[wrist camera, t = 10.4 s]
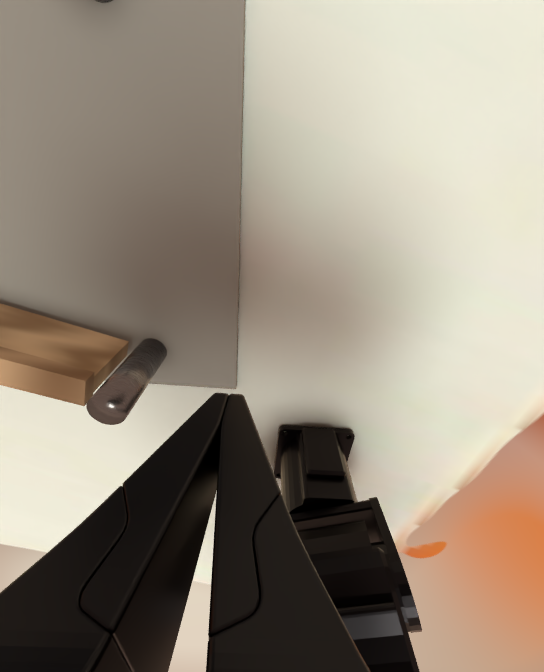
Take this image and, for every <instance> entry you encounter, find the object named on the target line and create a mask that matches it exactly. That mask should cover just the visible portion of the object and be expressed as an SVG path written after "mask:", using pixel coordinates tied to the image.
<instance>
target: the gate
mask: <svg viewBox="0 0 544 672" xmlns="http://www.w3.org/2000/svg"><path fill="white" fill-rule="evenodd" d="M128 344H129V341H126V340H122V339H119V338H116V337H112V336H109V335H105V334H102V333H99V332H95V331H92V330H89V329H85V328H82V327H78V326H75V325H72V324H68V323H65V322H62V321H58V320H55V319H51V318H48V317H45V316H41V315H38V314H34V313H31V312H28V311H24V310H21V309H18V308H14V307H11V306H7V305H4V304H1V303H0V385H3V386H7V387H11V388H15V389H19V390H23V391H27V392H31V393H35V394H39V395H42V396H46V397H50V398H54V399H58V400H62V401H66V402H70V403H74V404H78V405H82V406H85V405H86V403H87V402H88V400H89V399H90V398H91V397H92V396H93V392H94V391H95V390H96V389H97V388H98V387H99V386H100V384H101V383H102V382H103V381H104V380H105V379H106V378H107V377H108V376H109V375H110V373H111V372H112V371H113V370H114V369H115V368H116V367H117V366H118V365H119V364H120V363H121V361H122V360H123V359H124V358H125V357H126V356H127V351H128Z"/></svg>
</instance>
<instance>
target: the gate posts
mask: <svg viewBox="0 0 544 672" xmlns="http://www.w3.org/2000/svg"><path fill="white" fill-rule="evenodd" d="M95 1H97V2H100V3H109V2H111V1H113V0H95ZM166 356H167V349H166V347H165V345H164V344H163V343H162V342H160V341H159V340H157V339H153V338H148V339H144V340H143V341H142V342H141V343H140V344H139V345H138V346H137V347H136V348H135V349H134V350H133V352H132V353H131V354H130V355H129V356H128V357H127V358H126V359H125V360H124V362H123V363H122V364H121V365H120V366H119V367H118V368H117V369H116V370H115V372H114V373H113V374H112V375H111V376H110V377H109V378H108V379H107V380H106V382H105V383H104V384H103V385H102V386H101V387H100V388H99V389H98V390H97V392H96V393H95V394H94V395H93V396H92V397H91V398H90V399H89V400H88V402H87V410H88V412H89V414H90V415H91V416H92V417H93V418H94V419H95V420H97V421H99V422H101V423H104V424H109V425H115V424H119V423H121V422H123V421H124V420H125V418H126V417H127V415H128V414H129V412H130V411H131V409H132V408H133V406H134V405H135V403H136V402H137V400H138V399H139V397H140V396H141V394H142V393H143V391H144V390H145V388H146V387H147V385H148V384H149V382H150V381H151V379H152V378H153V376H154V375H155V373H156V372H157V370H158V369H159V367H160V366H161V364H162V363H163V361H164V360H165V358H166Z"/></svg>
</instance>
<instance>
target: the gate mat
mask: <svg viewBox="0 0 544 672" xmlns="http://www.w3.org/2000/svg"><path fill="white" fill-rule="evenodd" d="M244 34H245V0H113V1H111V2H109V3H100V2H97V1H95V0H0V303H1V304H4V305H7V306H11V307H14V308H18V309H21V310H24V311H28V312H31V313H34V314H38V315H41V316H45V317H48V318H51V319H55V320H58V321H62V322H65V323H68V324H72V325H75V326H78V327H82V328H85V329H89V330H92V331H95V332H99V333H102V334H105V335H109V336H112V337H116V338H119V339H122V340H126V341H129V344H128V351H127V356H126V357H125V358H124V359H123V360H122V361H121V363H120V364H119V365H118V366H117V367H116V368H115V369H114V370H113V371H112V372H111V373H110V375H109V376H108V377H107V378H106V379H105V380H107V379H108V378H109V377H110V376H111V375H112V374H113V373H114V372H115V370H116V369H117V368H118V367H119V366H120V365H121V364H122V363H123V362H124V360H125V359H126V358H127V357H128V356H129V355H130V354H131V353H132V352H133V350H134V349H135V348H136V347H137V346H138V345H139V344H140V343H141V342H142V341H143V340H144V339H148V338H153V339H157V340H159V341H160V342H162V343H163V344H164V345H165V347H166V349H167V356H166V358H165V360H164V361H163V363H162V364H161V366H160V367H159V369H158V370H157V372H156V373H155V375H154V376H153V378H152V379H151V381H150V382H149V383H152V384H167V385H182V386H197V387H213V388H228V389H236V386H237V342H238V298H239V254H240V210H241V166H242V122H243V78H244Z"/></svg>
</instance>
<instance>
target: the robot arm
mask: <svg viewBox="0 0 544 672" xmlns="http://www.w3.org/2000/svg"><path fill="white" fill-rule="evenodd" d="M283 431H286V432H283ZM347 435H349V436H347ZM354 437H355V436H354V433H353V431H352V430H349V429H333V428H317V427H301V426H281V427H280V428H279V432H278V440H277V448H276V456H275V464H274V473H273V470H272V468H271V465H270V462H269V460H268V457H267V455H266V452H265V449H264V447H263V444H262V442H261V439H260V436H259V434H258V431H257V429H256V426H255V423H254V421H253V418H252V416H251V413H250V410H249V408H248V405H247V402H246V400H245V397H244V396H243V395H241V394H230V395H228V394H226V393H215V394H213V395H212V396H211V397H210V398H209V399H208V400H207V401H206V402H205V403H204V404H203V405H202V406H201V407H200V408H199V409H198V410H197V411H196V412H195V413H194V414H193V415H192V416H191V417H190V418H189V419H188V420H187V421H186V422H185V423H184V424H183V425H182V426H181V427H180V428H179V429H178V430H177V431H176V432H175V433H174V434H173V435H172V436H171V437H170V438H169V439H167V440H166V441H165V442H164V443H163V444H162V445H161V446H160V447H159V448H158V449H157V450H156V451H155V452H154V453H153V454H152V455H151V456H150V457H149V458H148V459H147V460H146V461H145V462H144V463H143V464H142V465H141V466H140V467H139V468H138V469H137V470H136V471H135V472H134V473H133V474H132V475H131V476H130V477H129V478H128V479H127V480H126V481H125V482H124V483H123V487H122V486H120V487H119V488H118V489H117V490H116V491H115V492H114V493H113V494H112V495H110V496H109V497H108V498H107V499H106V500H105V501H104V502H103V503H102V504H101V505H100V506H99V507H98V508H97V509H96V510H95V511H94V512H93V513H92V514H91V515H90V516H88V517H87V518H86V519H85V520H84V521H83V522H82V523H81V524H80V525H79V526H78V527H77V528H75V529H74V530H73V531H72V532H71V533H70V534H69V535H67V536H66V537H65V538H64V539H63V540H62V541H61V542H59V543H58V544H57V545H56V546H55V547H54V548H53V549H51V550H50V551H49V552H48V553H47V554H46V555H44V556H43V557H42V558H41V559H40V560H39V561H37V562H36V563H35V564H34V565H33V566H31V567H30V568H29V569H28V570H27V571H25V572H24V573H23V574H22V575H21V576H20V577H18V578H17V579H16V580H15V581H14V582H12V583H11V584H10V585H9V586H8V587H7V588H5V589H4V590H3V591H2V592H1V593H0V672H168V669H169V666H170V661H171V658H172V654H173V650H174V647H175V643H176V640H177V636H178V632H179V628H180V625H181V621H182V617H183V613H184V610H185V606H186V602H187V598H188V595H189V591H190V587H191V583H192V580H193V576H194V572H195V569H196V565H197V561H198V557H199V554H200V550H201V546H202V542H203V539H204V535H205V531H206V528H207V524H208V520H209V516H210V513H211V509H212V505H213V501H214V498H215V494H216V490H217V497H216V514H215V531H214V548H213V565H212V582H211V599H210V600H211V601H210V617H209V618H210V619H209V633H208V635H209V641H208V650H207V666H206V672H419V669H418V666H417V662H416V658H415V655H414V652H413V648H412V645H411V642H410V638H409V634H408V632H411V633H412V632H421V631H422V628H421V624H420V620H419V616H418V613H417V609H416V606H415V603H414V600H413V596H412V593H411V590H410V587H409V583H408V581H407V577H406V575H405V571H404V569H403V566H402V563H401V560H400V558H399V555H398V552H397V549H396V546H395V544H394V541H393V539H392V536H391V533H390V531H389V528H388V525H387V523H386V520H385V517H384V515H383V512H382V509H381V507H380V504H379V502H378V499H377V497H375V498H369V500H366V501H361V502H357V498H356V494H355V491H354V487H353V483H352V480H351V476H350V473H349V469H348V465H347V460H348V457H349V454H350V450H351V447H352V444H353V441H354ZM276 478H278V479H281V491H280V488H279V486H278V483H277V481H276ZM281 493H282V495H281Z"/></svg>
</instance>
